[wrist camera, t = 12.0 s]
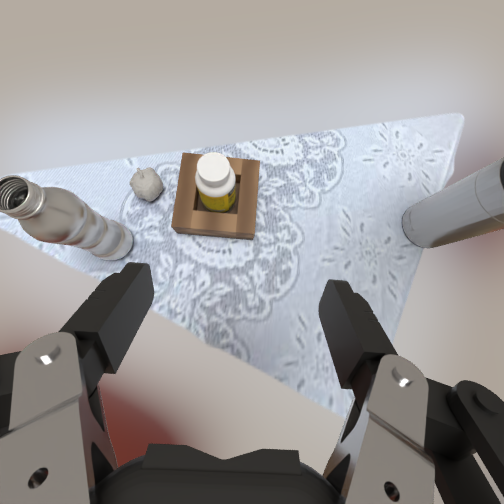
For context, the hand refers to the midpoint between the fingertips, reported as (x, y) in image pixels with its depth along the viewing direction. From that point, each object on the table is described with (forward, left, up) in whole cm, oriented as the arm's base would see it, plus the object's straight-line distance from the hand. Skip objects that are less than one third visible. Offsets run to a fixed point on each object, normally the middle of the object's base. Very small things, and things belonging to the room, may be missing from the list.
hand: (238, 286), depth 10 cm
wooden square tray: (+5, -18, -30) cm, 35 cm away
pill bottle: (+5, -17, -30) cm, 35 cm away
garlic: (+18, -19, -31) cm, 40 cm away
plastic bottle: (+22, -8, -31) cm, 38 cm away
